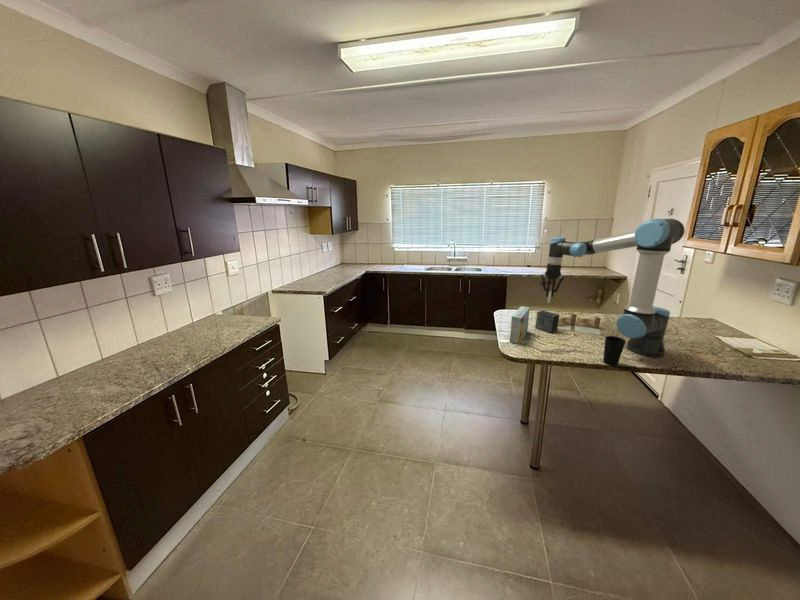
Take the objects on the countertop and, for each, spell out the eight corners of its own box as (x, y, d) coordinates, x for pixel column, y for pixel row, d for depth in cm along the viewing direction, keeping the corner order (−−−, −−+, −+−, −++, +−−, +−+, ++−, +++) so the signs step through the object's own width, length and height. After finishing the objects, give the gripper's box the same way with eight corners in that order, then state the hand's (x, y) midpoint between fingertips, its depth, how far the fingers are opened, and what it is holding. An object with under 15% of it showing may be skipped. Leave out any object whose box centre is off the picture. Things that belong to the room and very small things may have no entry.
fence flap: (568, 323, 191) (569, 314, 189) (571, 325, 189) (573, 315, 187) (551, 325, 189) (552, 315, 187) (554, 326, 186) (556, 317, 184)
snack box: (517, 329, 183) (520, 305, 178) (527, 331, 180) (530, 307, 175) (508, 342, 166) (511, 315, 161) (519, 344, 163) (522, 317, 158)
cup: (602, 365, 141) (607, 341, 138) (598, 358, 148) (603, 335, 144) (622, 368, 138) (628, 343, 135) (617, 360, 145) (622, 337, 142)
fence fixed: (598, 328, 185) (600, 317, 183) (598, 329, 183) (600, 318, 181) (569, 323, 192) (571, 313, 190) (569, 325, 190) (571, 314, 188)
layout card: (598, 326, 188) (598, 325, 188) (600, 335, 175) (600, 334, 175) (548, 319, 201) (548, 318, 201) (546, 326, 187) (546, 326, 187)
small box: (557, 331, 180) (560, 314, 178) (551, 333, 177) (553, 316, 174) (540, 326, 189) (543, 309, 186) (534, 328, 185) (536, 311, 182)
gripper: (541, 263, 180) (536, 302, 187) (566, 265, 174) (560, 305, 181) (542, 261, 187) (537, 299, 193) (567, 263, 181) (560, 302, 188)
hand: (548, 302), depth 187 cm, fingers closed
